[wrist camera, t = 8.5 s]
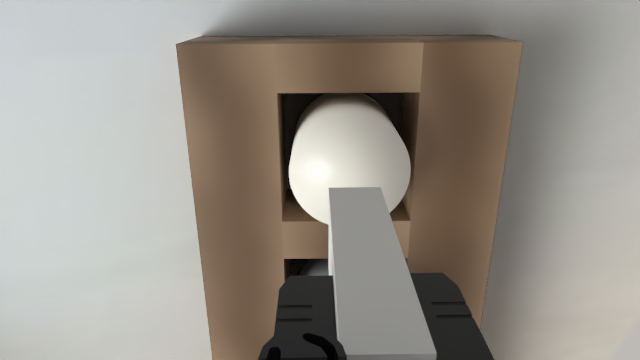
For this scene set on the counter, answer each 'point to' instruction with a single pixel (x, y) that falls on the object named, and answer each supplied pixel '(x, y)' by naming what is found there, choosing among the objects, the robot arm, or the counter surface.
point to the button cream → (346, 152)
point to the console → (271, 160)
